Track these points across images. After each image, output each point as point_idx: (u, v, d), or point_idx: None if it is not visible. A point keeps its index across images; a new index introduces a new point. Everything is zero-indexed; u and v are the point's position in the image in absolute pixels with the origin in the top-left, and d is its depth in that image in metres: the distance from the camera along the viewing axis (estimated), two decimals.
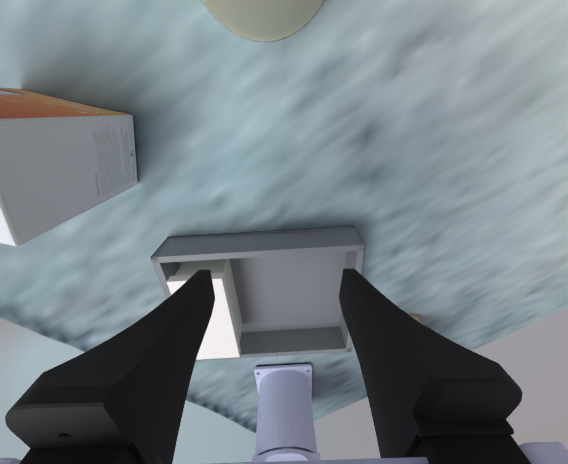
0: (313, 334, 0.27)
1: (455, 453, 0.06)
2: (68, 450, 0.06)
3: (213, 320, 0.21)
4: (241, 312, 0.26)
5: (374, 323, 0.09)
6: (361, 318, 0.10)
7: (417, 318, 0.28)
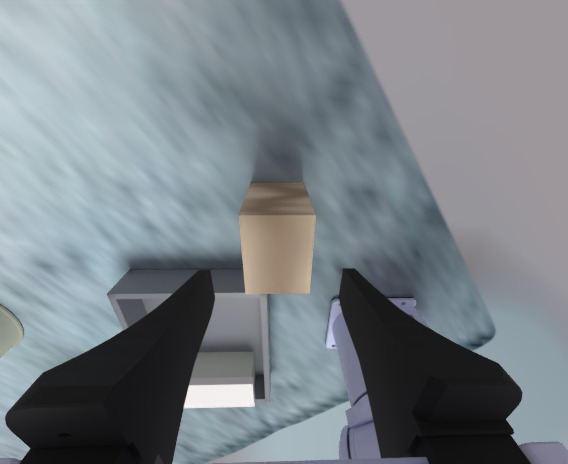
0: None
1: (455, 453, 0.06)
2: (68, 450, 0.06)
3: (203, 393, 0.26)
4: (238, 350, 0.29)
5: (374, 323, 0.09)
6: (362, 318, 0.10)
7: None
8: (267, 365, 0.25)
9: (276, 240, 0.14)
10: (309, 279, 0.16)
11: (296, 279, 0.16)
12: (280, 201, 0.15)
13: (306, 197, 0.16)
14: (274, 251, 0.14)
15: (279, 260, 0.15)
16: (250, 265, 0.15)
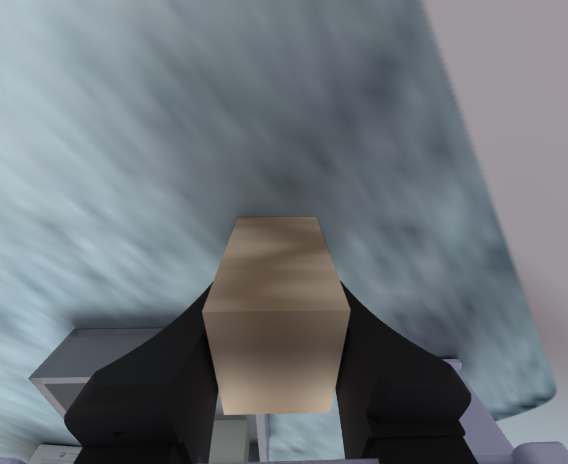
0: None
1: (404, 455, 0.06)
2: (121, 449, 0.06)
3: None
4: (227, 419, 0.22)
5: None
6: None
7: None
8: (264, 449, 0.19)
9: (274, 347, 0.08)
10: (331, 396, 0.09)
11: (309, 396, 0.09)
12: (282, 265, 0.09)
13: (325, 253, 0.10)
14: (271, 362, 0.08)
15: (281, 373, 0.08)
16: (229, 381, 0.09)
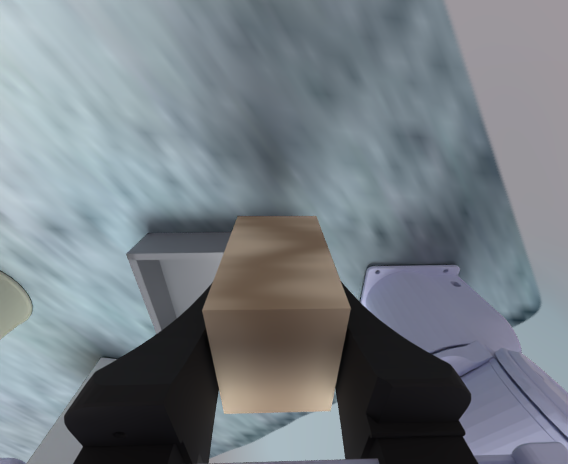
0: None
1: (404, 455, 0.06)
2: (120, 449, 0.06)
3: None
4: None
5: None
6: None
7: None
8: None
9: (274, 345, 0.08)
10: (331, 394, 0.09)
11: (309, 395, 0.09)
12: (282, 264, 0.09)
13: (325, 252, 0.10)
14: (271, 360, 0.08)
15: (281, 371, 0.08)
16: (229, 379, 0.09)
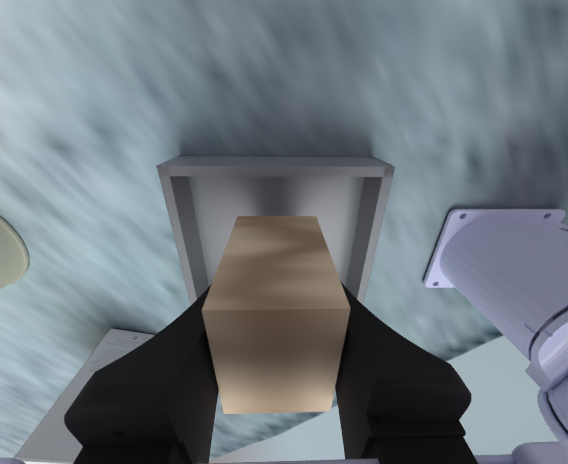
0: (362, 214, 0.17)
1: (404, 454, 0.06)
2: (121, 449, 0.06)
3: None
4: None
5: None
6: None
7: None
8: (362, 299, 0.19)
9: (274, 345, 0.08)
10: (331, 395, 0.09)
11: (308, 395, 0.09)
12: (282, 264, 0.09)
13: (325, 252, 0.10)
14: (271, 361, 0.08)
15: (281, 372, 0.08)
16: (228, 379, 0.09)
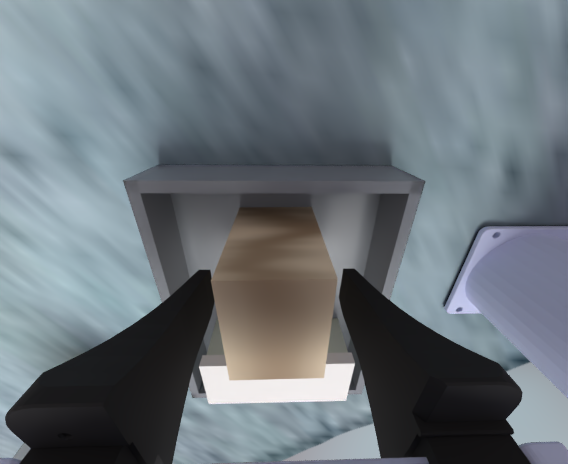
0: (378, 234, 0.14)
1: (455, 453, 0.06)
2: (68, 450, 0.06)
3: (272, 379, 0.16)
4: None
5: (374, 323, 0.09)
6: (362, 318, 0.10)
7: None
8: None
9: (273, 313, 0.09)
10: (324, 361, 0.10)
11: (304, 362, 0.10)
12: (280, 246, 0.10)
13: (318, 236, 0.11)
14: (270, 328, 0.09)
15: (279, 339, 0.10)
16: (234, 346, 0.10)
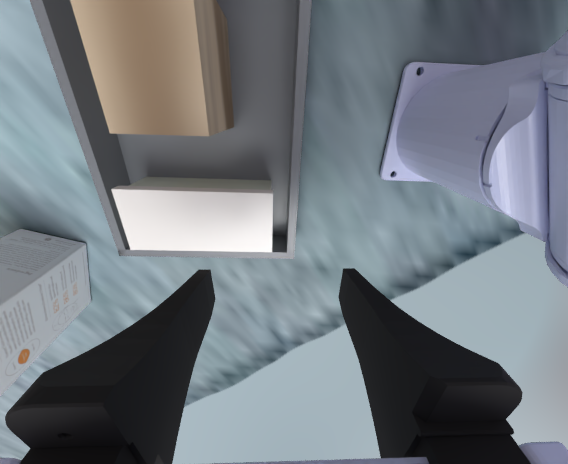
0: (295, 51, 0.14)
1: (455, 453, 0.06)
2: (68, 450, 0.06)
3: (190, 214, 0.16)
4: (247, 178, 0.19)
5: (374, 323, 0.09)
6: (362, 318, 0.10)
7: None
8: (297, 167, 0.15)
9: (131, 9, 0.09)
10: (203, 105, 0.10)
11: (182, 104, 0.10)
12: None
13: None
14: (134, 37, 0.09)
15: (148, 58, 0.09)
16: (102, 69, 0.09)
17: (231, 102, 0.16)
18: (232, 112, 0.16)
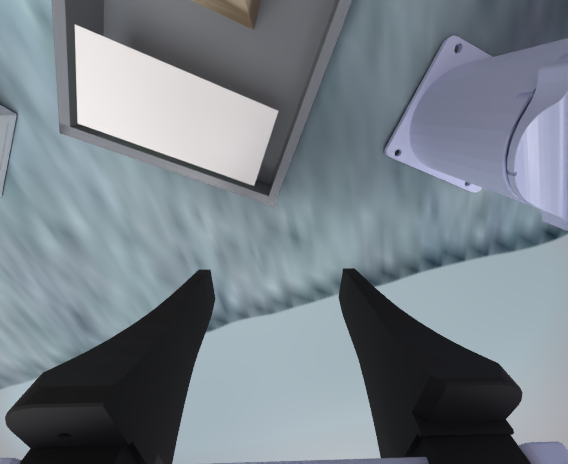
0: None
1: (455, 453, 0.06)
2: (68, 450, 0.06)
3: (172, 101, 0.13)
4: None
5: (374, 323, 0.09)
6: (362, 318, 0.10)
7: None
8: (313, 94, 0.14)
9: None
10: None
11: None
12: None
13: None
14: None
15: None
16: None
17: None
18: (257, 9, 0.14)
